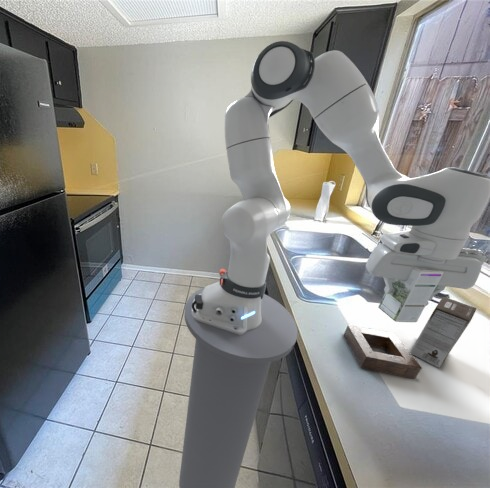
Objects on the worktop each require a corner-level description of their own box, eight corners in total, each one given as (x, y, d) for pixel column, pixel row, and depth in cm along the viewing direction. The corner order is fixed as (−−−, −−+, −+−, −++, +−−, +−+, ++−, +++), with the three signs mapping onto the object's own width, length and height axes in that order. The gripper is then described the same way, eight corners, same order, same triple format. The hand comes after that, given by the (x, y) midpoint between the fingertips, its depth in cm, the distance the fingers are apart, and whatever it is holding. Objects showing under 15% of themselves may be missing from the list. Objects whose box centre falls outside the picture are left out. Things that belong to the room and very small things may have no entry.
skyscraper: (325, 222, 177) (338, 182, 166) (312, 220, 181) (323, 180, 170) (325, 219, 184) (337, 180, 172) (313, 217, 188) (324, 178, 176)
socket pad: (360, 367, 67) (366, 356, 65) (343, 335, 78) (347, 324, 76) (415, 379, 64) (422, 367, 63) (389, 343, 75) (394, 333, 74)
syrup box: (417, 323, 63) (446, 271, 57) (394, 322, 63) (420, 270, 57) (398, 308, 68) (422, 259, 62) (376, 307, 68) (399, 258, 62)
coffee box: (417, 339, 77) (443, 295, 71) (446, 353, 73) (477, 307, 66) (408, 353, 72) (435, 306, 66) (439, 369, 68) (472, 321, 61)
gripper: (477, 245, 58) (447, 295, 64) (374, 233, 62) (354, 282, 68) (503, 257, 52) (468, 311, 58) (388, 243, 57) (365, 295, 62)
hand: (406, 295), depth 63 cm, fingers closed on syrup box, 6 cm apart
